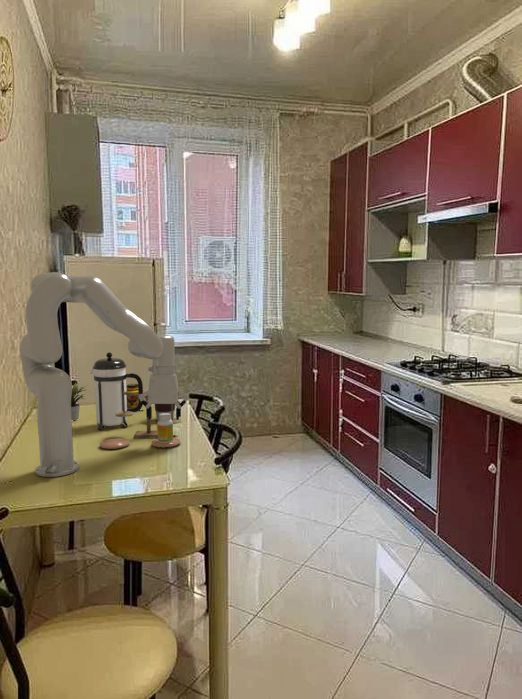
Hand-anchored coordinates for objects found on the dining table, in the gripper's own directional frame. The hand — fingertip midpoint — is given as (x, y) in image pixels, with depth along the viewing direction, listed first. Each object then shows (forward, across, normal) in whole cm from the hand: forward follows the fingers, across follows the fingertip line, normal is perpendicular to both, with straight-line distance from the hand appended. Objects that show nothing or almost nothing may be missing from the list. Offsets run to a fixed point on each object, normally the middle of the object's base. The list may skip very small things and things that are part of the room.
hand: (163, 418), depth 185 cm
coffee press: (+10, -23, +29) cm, 38 cm away
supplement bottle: (+8, 0, 0) cm, 8 cm away
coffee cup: (+9, -4, +37) cm, 38 cm away
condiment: (+9, -21, +56) cm, 60 cm away
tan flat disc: (+10, +1, +1) cm, 10 cm away
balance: (+9, -7, +13) cm, 17 cm away
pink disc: (+10, -17, +1) cm, 20 cm away
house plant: (+10, -43, +39) cm, 59 cm away
